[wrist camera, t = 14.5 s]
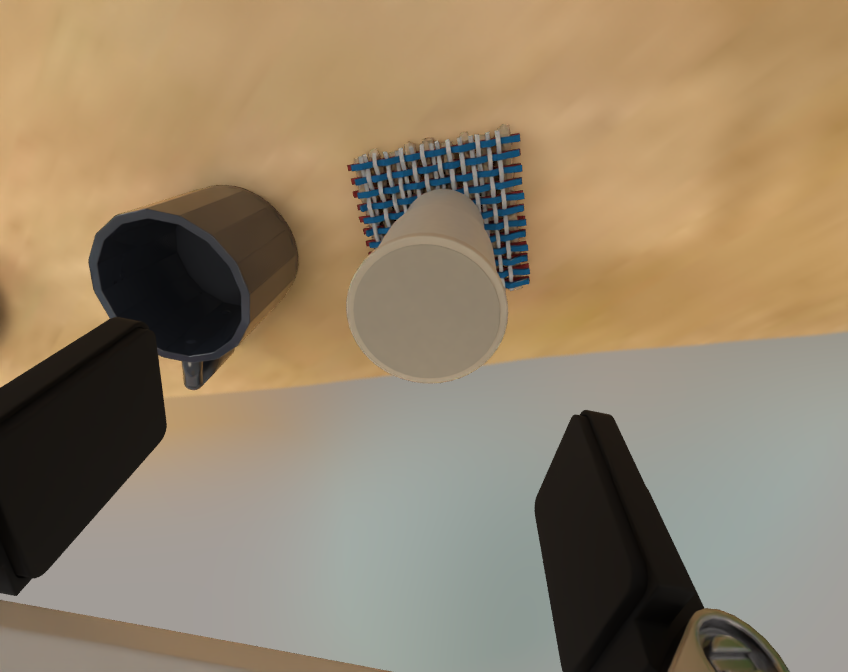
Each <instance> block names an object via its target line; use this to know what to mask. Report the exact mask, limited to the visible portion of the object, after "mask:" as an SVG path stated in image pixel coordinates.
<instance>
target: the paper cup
mask: <svg viewBox="0 0 848 672" xmlns="http://www.w3.org/2000/svg"><path fill="white" fill-rule="evenodd" d="M346 310H347V319H348V323H349V327H350V330H351V332H352V335H353V337H354V339H355V341H356V343H357V344H358V346H359V347H360V349H361V350H362V351H363V353H364V354H365V355H366V356H367V357H368V358H369V359H370V360H371V361H372V362H373V363H374V364H376V365H377V366H378V367H380V368H381V369H383V370H384V371H386V372H388V373H390V374H392V375H394V376H396V377H399V378H402V379H405V380H408V381H412V382H419V383H442V382H448V381H452V380H455V379H459V378H461V377H464V376H466V375H468V374H470V373H472V372H473V371H475V370H477V369H478V368H479V367H481V366H482V365H483V364H484V363H485V362H486V361H487V360H488V359H489V358H490V357H491V356H492V355H493V354H494V352H495V351H496V350H497V348H498V346H499V345H500V343H501V341H502V339H503V336H504V334H505V330H506V326H507V321H508V303H507V298H506V293H505V289H504V286H503V283H502V280H501V278H500V276H499V275H498V273H497V270H496V264H495V258H494V252H493V247H492V244H491V241H490V238H489V236H488V234H487V232H486V231H485V229H484V222H483V218H482V215H481V213H480V211H479V209H478V207H477V206H476V205H475V203H474V202H473V201H472V200H471V199H469V198H468V197H467V196H465V195H464V194H462V193H460V192H458V191H454V190H450V189H436V190H432V191H429V192H426V193H424V194H423V195H421V196H419V197H418V198H417V199H416V200H415V201H414V202H413V203H412V204H411V205H410V207H409V208H408V210H407V211H406V213H405V214H403V215H402V216H401V217H400V218H398V219H397V220H396V221H395V223H394V224H393V225H392V226H391V228H390V229H389V230H388V232H387V234H386V235H385V237H384V238H383V240H382V242H381V243H380V245H379V246H378V248H376V249H375V250H374V251H373V252H371V253H370V254H369V255H368V256H367V257H366V259H365V260H364V261H363V262H362V264H361V265H360V266H359V268H358V269H357V271H356V273H355V275H354V277H353V278H352V281H351V283H350V286H349V289H348V295H347V304H346Z"/></svg>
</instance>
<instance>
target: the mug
mask: <svg viewBox="0 0 848 672" xmlns="http://www.w3.org/2000/svg"><path fill="white" fill-rule="evenodd" d="M89 268H90V273H91V279H92V284H93V289H94V292H95V294H96V295H97V297H98V299H99V301H100V302H101V304H102V306H103V308H104V309H105V311H106V313H107V314H108V316H109V318H110V319H111V318H114V317H120V318H125V319H131V320H136V321H141V322H144V323H146V324H147V326H148V327H149V330H151V331H153V332H154V334H155V336H156V343H157V351H158V355H159V356H161V357H164V358H169V359H174V360H179V361H182V369H183V380H184V385H185V387H186V388H188V389H190V390H197V389H199V388H201V387H202V386H203V385H204V383H205V382H206V381H207V380H208V379H209V378H210V377H211V376H212V375H213V374H214V373H215V372H216V371H217V370H218V369H219V368H220V367H221V365H222V364H223V363H224V362H225V361H226V360H227V359H228V358H229V357H230V356H231V355H232V354H233V352H234V350H235V347H237V346H238V345H239V344H240V343H241V342H242V341H243V340H244V339H245V338H246V337H247V336H248V335H249V334H250V333H251V332H252V331H253V330H254V328H255V327H256V326H257V325H258V324H259V323H260V322H261V321H262V320H263V319H264V318H265V317H266V316H267V315H268V314H269V313H270V312H271V311H272V310H273V309H274V307H275V306H276V305H277V304H278V303H279V302H280V301H281V300H282V299H283V298H284V297H285V295H286V293H287V292H288V291H289V289H290V288H291V286H292V285H293V282H294V280H295V278H296V274H297V269H298V252H297V247H296V243H295V239H294V237H293V234H292V232H291V230H290V228H289V226H288V225H287V223H286V221H285V220H284V219H283V217H282V216H281V215H280V214H279V212H278V211H277V210H276V209H275V208H274V207H273V206H272V205H270V204H269V203H268V202H267V201H265V200H264V199H263V198H261V197H260V196H258V195H256V194H254V193H253V192H250V191H248V190H246V189H243V188H239V187H236V186H229V185H215V186H209V187H206V188H202V189H198V190H193V191H190V192H187V193H184V194H181V195H178V196H175V197H171V198H168V199H165V200H162V201H159V202H156V203H152V204H149V205H146V206H143V207H140V208H137V209H134V210H130V211H127V212H124V213H121V214H118V215H116V216H114V217H113V218H112V219H111V220H110V221H109V222H108V223H107V224H106V225H105V226H104V227H103V228H101V229H100V230H99V231H98V232H97V233H96V235H95V238H94V242H93V245H92V249H91V253H90V256H89Z"/></svg>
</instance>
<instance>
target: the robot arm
mask: <svg viewBox="0 0 848 672" xmlns="http://www.w3.org/2000/svg"><path fill="white" fill-rule="evenodd" d="M166 425H167V424H166V415H165V407H164V399H163V391H162V383H161V375H160V367H159V359H158V351H157V343H156V336H155V334H154V332H153V331H151V330H149V327H148V326H147V324H146V323H144V322H141V321H136V320H131V319H125V318H120V317H114V318H111V319H109V320H108V321H106V322H104V323H103V324H101V325H100V326H98V327H96V328H95V329H93V330H92V331H90V332H88V333H87V334H85V335H84V336H82V337H81V338H79V339H77V340H76V341H74V342H73V343H71V344H69V345H68V346H66V347H65V348H63V349H61V350H60V351H58V352H57V353H55V354H53V355H52V356H50V357H49V358H47V359H45V360H44V361H42V362H41V363H39V364H38V365H36V366H34V367H33V368H31V369H30V370H28V371H26V372H25V373H23V374H22V375H20V376H18V377H17V378H15V379H14V380H12V381H10V382H9V383H7V384H6V385H4V386H2V387H1V388H0V593H3V594H8V595H14V596H17V595H18V594H19V593H20V591H21V590H22V589H23V588H24V587H25V586H26V585H27V584H28V583H29V581H30V580H31V579H32V578H37V577H40V576H41V575H43V574H44V573H45V572H46V571H47V570H48V569H49V568H50V567H51V566H52V565H53V563H54V562H55V561H56V560H57V559H58V558H59V557H60V556H61V554H62V553H63V552H64V551H65V550H66V549H67V548H68V546H69V545H70V544H71V543H72V542H73V541H74V540H75V538H76V537H77V536H78V535H79V534H80V533H81V532H82V530H83V529H84V528H85V527H86V526H87V525H88V524H89V522H90V521H91V520H92V519H93V518H94V517H95V516H96V515H97V513H98V512H99V511H100V510H101V509H102V508H103V507H104V505H105V504H106V503H107V502H108V501H109V500H110V499H111V497H112V496H113V495H114V494H115V493H116V492H117V490H118V489H119V488H120V487H121V486H122V485H123V484H124V483H125V481H126V480H127V479H128V478H129V477H130V476H131V475H132V473H133V472H134V471H135V470H136V469H137V468H138V467H139V465H140V464H141V463H142V462H143V461H144V460H145V459H146V457H147V456H148V455H149V454H150V453H151V452H152V451H153V450H154V448H155V447H156V446H157V445H158V444H159V443H160V441H161V440H162V439H163V437H164V435H165V432H166V427H167V426H166ZM535 517H536V523H537V529H538V534H539V541H540V546H541V552H542V558H543V563H544V569H545V574H546V581H547V587H548V592H549V598H550V604H551V610H552V615H553V621H554V627H555V633H556V638H557V644H558V650H559V656H560V662H561V666H562V671H563V672H790V671H789V670H788V668H787V667H786V665H785V664H784V662H783V660H782V659H781V657H780V655H779V654H778V653H777V652H776V651H775V649H774V648H773V647H772V646H771V645H770V644H769V642H768V641H767V640H766V639H765V638H764V637H763V636H762V635H760V634H759V633H758V632H757V631H756V630H755V629H753V628H752V627H751V626H750V625H748V624H747V623H745V622H744V621H742V620H740V619H739V618H737V617H736V616H734V615H731V614H729V613H726V612H724V611H721V610H718V609H708V608H704V606H703V604H702V602H701V600H700V598H699V596H698V594H697V592H696V590H695V587H694V586H693V583H692V581H691V579H690V577H689V575H688V573H687V570H686V568H685V566H684V564H683V562H682V560H681V558H680V556H679V554H678V552H677V549H676V547H675V545H674V543H673V541H672V539H671V537H670V535H669V533H668V530H667V528H666V526H665V524H664V522H663V520H662V518H661V516H660V513H659V511H658V509H657V507H656V505H655V503H654V501H653V499H652V497H651V494H650V493H649V490H648V489H647V487H646V486H645V484H644V482H643V479H642V477H641V475H640V473H639V471H638V469H637V467H636V464H635V462H634V461H633V458H632V456H631V454H630V452H629V450H628V447H627V445H626V443H625V441H624V439H623V437H622V435H621V433H620V431H619V428H618V426H617V424H616V422H615V420H614V418H613V417H612V416H611V415H609V414H604V413H599V412H594V411H589V410H584V411H583V412H581V414H580V415H573V416H572V418H571V420H570V422H569V424H568V427H567V429H566V431H565V434H564V436H563V438H562V440H561V443H560V445H559V447H558V449H557V451H556V454H555V456H554V458H553V460H552V463H551V465H550V467H549V470H548V472H547V474H546V477H545V479H544V481H543V483H542V486H541V488H540V490H539V493H538V494H537V497H536V500H535ZM0 672H391V671H386V670H380V669H375V668H370V667H365V666H360V665H354V664H349V663H344V662H338V661H332V660H327V659H322V658H317V657H311V656H306V655H300V654H295V653H290V652H285V651H279V650H273V649H268V648H263V647H258V646H252V645H247V644H241V643H235V642H230V641H225V640H219V639H214V638H208V637H203V636H198V635H192V634H187V633H181V632H176V631H171V630H165V629H159V628H154V627H148V626H143V625H137V624H132V623H126V622H121V621H115V620H109V619H104V618H98V617H93V616H87V615H81V614H76V613H70V612H64V611H59V610H53V609H48V608H42V607H37V606H31V605H26V604H20V603H15V602H8V601H3V600H0Z"/></svg>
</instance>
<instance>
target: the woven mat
mask: <svg viewBox="0 0 848 672" xmlns="http://www.w3.org/2000/svg"><path fill="white" fill-rule="evenodd" d="M474 136H475V141H474V142H473V135H471V136H469V135H468V132H463V133H461V134H460V137H459V138H457V142H458V145H453V143H452V142H450V141H449V139H447V140H445V142H444V143H442V144H441V148H440V146H439V142H438V140H437V141H435V142H433V138H425V139H423V140H422V143H423V144H420V151H419V152H416V147H415V144H414V143H411V142H407V143H406V144H405V145H404V148H405V154H403V148H400V149H399V151H394V152H389V155H390V157H389V156H388V153H387V152H383V154H384V157H385V158H382V159H381V156H380V154H379V152H378V150H377V148H376V149H372V150H370V153H369V155H368V156H369V158H370V160H371V161H368V159H367V156H366V154H364V155H362V156H363V157H362V156H360V157H358V158H355V159H354V162H355V164H351V165H347V166H348V171H351V170H352V171H356V173H357V178H352V179H351V182H352V185H354V184H355V185H356V186H357V185H358V189H359V190H357V191H353V196H354V197H355V198H356V197H358V199H360V198H361V201H362V203H363V204H359V205H357V207H358V210H361V211H362V212H365V211H366V215H367V216H362V217H359V219H360V222H364V224H369V228H364V229H363V232H364V234H366V236H368V237H370V236H372V240H368V241H366V245H367V246H370V248H374V249H376V248H378V246H379V245H380V243H381V242H382V240H383V238H384V237H385V236H384V235H383V234H387V232H388V230H389V229H390V228H391V226H392V225H393V224H394V223H395V222H394V220H397V219H398V218H400V217H401V216H402V215H403V214H405V213H406V211H407V210H408V208H409V205H408V204H410V205H411V204H412V203H413V202H414V201H415V200H416V199H417V198H418V197H419V196H421V195H423V194H424V192H423V188H426V190H427V192H429V191H432V190H436V189H441V188H440V185H441V187H442V189H446V185H445V184H447V185H448V189H450V190H454V191H458V192H460V193H462V194H464V195H465V196H467V197H468V198H469V199H471V200H472V201H473V202H474V203H475V205H476V206H477V207H478V209H479V211H480V213H481V215H482V218H483V219H484V229H485V231H486V232H487V234H488V236H489V238H490V241H491V244H492V247H493V252H494V258H495V264H496V270H497V273H498V275H499V276H500V278H501V280H502V283H503V286H504V289H505V288H508V289H510V291H513V290H514V289H516V290H518V289H521V288H523V287H522V285H526V284H529V282H530V280H529V276H523V277H521V275H527V274H530V269H529V263H527V264H522V265H521V264H520V262H525V261H527V260H528V255H527V253H520V251H528V245H527V244H526V241H523V242H519V238H520V237H525V236H526V229H520V230H518V226H525V225H526V219H525V216H517V212H522V211H524V204H517V205H516V201H515V200H521V199H524V193H523V190H520V191H515V189H514V186H516V185H521V184H522V177H518V178H514V177H513V173H515V172H521V171H522V165H521V163H519V164H512V158H513V157H517V156H520V155H521V153H520V149H514V150H511V143H512V142H519V141H520V133H517V134H510V129H509V125H507V124H502V125H501V126H500V127H499V128H498V131H495V138H491V139H490V134H489V132H487V133H485V134H484V135H479V134H474ZM434 143H435V149H434ZM492 146H496V148H497V153H492V151H491V147H492ZM474 149H476V155H477V156H475V153H474ZM457 152H459V157H460V159H454V153H457ZM441 155H442V157H443V162H442V161H441ZM436 156H437V162H436ZM419 159H421V161H422V165H423V166H419V163H418V160H419ZM493 161H498V166H496V167H493ZM405 162H406V163H407V166H408V168H407V169H406V165H405ZM400 163H401V164H400ZM476 165H478V170H476ZM383 166H386V169H387V172H384V167H383ZM401 166H402V169H401ZM391 167H392V171H391ZM458 167H461V171H462V173H458V174H456V168H458ZM370 168H374V172H375V174H374V175H371V173H370ZM443 170H444V171H445V174H446V176H444V173H443ZM438 171H439V175H440V177H439V175H438ZM420 174H424V180H421V175H420ZM497 175H499V180H500V181H494V176H497ZM408 176H411V182H409V178H408ZM393 178H394V182H393ZM478 178H479V181H480V184H478ZM387 179H388V181H389V184H390V186H387V182H386V180H387ZM404 179H405V182H404ZM372 182H377V186H378V187H377V188H374V186H373V183H372ZM458 182H463V187H458ZM394 183H395V185H394ZM369 187H370V188H369ZM500 189H501V194H496V190H500ZM406 190H407V195H405V191H406ZM411 190H413V193H414V195H412V192H411ZM479 193H481V197H480V195H479ZM389 194H392V198H390V196H389ZM377 195H379V196H380V201H377V199H376V196H377ZM500 202H502V207H497V203H500ZM481 205H482V206H483V208H481ZM392 206H394V208H395V211H393V210H392ZM379 209H382V210H383V213H380V214H379ZM498 216H503V218H502V219H499V220H498ZM381 221H384V224H382V225H379V224H380V222H381ZM503 228H504V230H505V232H499V230H501V229H503ZM500 241H503V242H505V243H501V242H500ZM372 252H373V251H372ZM370 253H371V252H369V254H370ZM505 253H507V255H506V256H502V254H505ZM503 265H505V266H508V267H503ZM507 276H509V278H505V277H507Z"/></svg>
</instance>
